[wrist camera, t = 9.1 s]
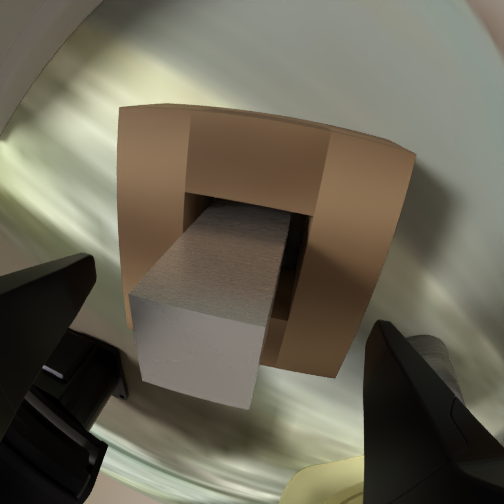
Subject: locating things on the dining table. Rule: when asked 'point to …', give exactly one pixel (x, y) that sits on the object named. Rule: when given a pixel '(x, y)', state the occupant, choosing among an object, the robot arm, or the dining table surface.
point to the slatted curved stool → (327, 484)
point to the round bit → (437, 360)
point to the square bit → (211, 303)
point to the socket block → (270, 195)
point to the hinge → (32, 42)
